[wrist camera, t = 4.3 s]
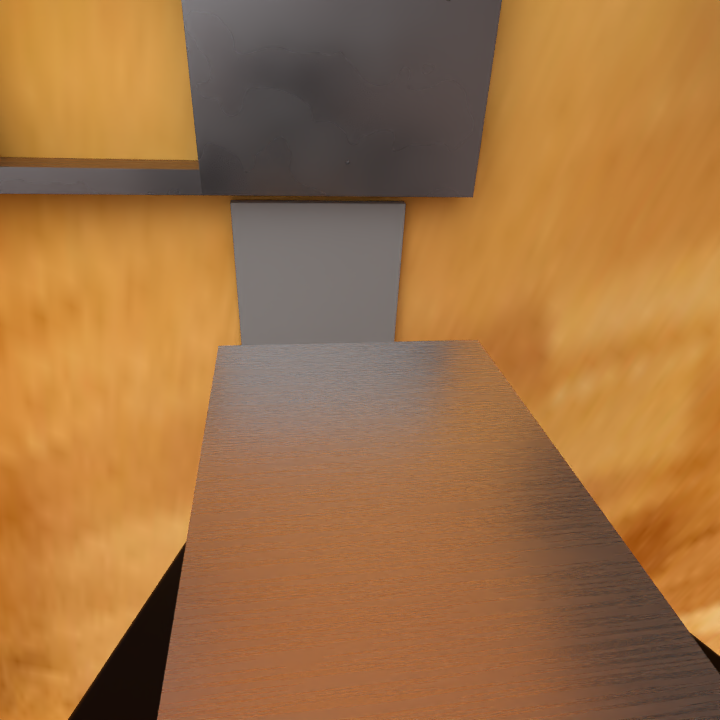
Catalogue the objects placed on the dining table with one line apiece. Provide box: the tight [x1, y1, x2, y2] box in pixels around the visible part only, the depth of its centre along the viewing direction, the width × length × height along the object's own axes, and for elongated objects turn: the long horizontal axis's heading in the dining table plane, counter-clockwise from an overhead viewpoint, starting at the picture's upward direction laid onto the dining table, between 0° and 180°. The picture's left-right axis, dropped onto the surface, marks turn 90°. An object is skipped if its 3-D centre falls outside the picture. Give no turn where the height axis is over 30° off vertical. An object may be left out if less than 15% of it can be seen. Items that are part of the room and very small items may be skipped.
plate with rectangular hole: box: [0, 0, 502, 197], centre depth 15 cm, size 18×8×2 cm, turn 88°
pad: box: [230, 200, 406, 345], centre depth 20 cm, size 6×6×1 cm
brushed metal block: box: [157, 340, 720, 720], centre depth 8 cm, size 5×5×7 cm
